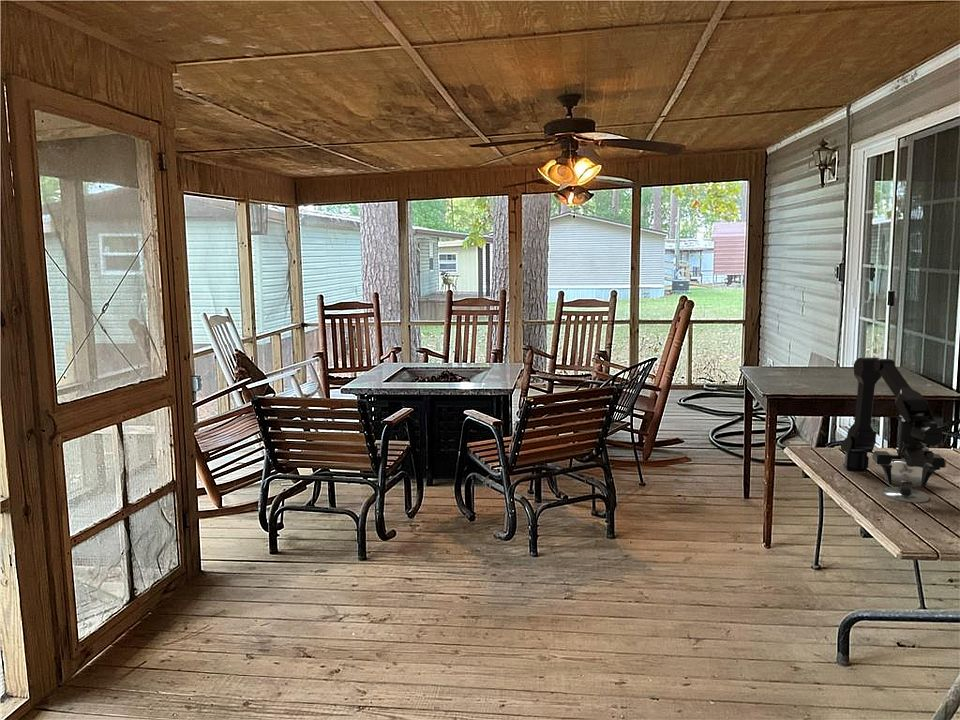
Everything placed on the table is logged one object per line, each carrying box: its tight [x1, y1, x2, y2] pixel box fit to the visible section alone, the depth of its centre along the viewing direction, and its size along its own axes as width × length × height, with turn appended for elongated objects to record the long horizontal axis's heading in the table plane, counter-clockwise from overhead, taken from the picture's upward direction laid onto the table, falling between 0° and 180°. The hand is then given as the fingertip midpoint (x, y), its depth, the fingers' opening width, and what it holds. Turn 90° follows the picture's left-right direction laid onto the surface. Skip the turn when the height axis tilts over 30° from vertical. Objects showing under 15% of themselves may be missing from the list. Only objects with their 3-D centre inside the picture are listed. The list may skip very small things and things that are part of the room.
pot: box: [884, 461, 923, 487], centre depth 229 cm, size 17×11×7 cm, turn 75°
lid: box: [881, 480, 930, 504], centre depth 216 cm, size 12×12×5 cm
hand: (906, 485), depth 216 cm, fingers open, 9 cm apart
